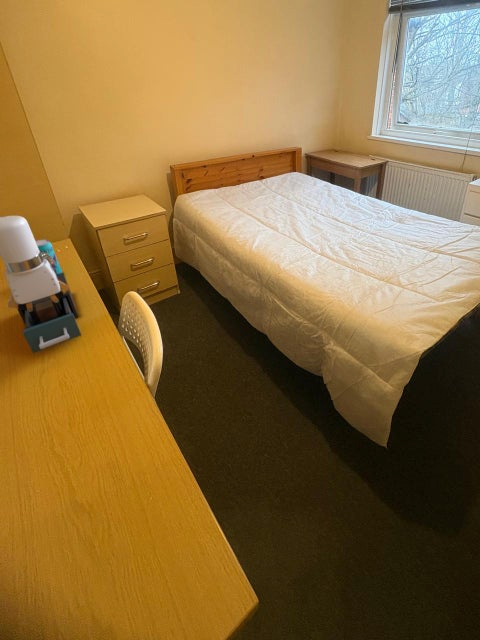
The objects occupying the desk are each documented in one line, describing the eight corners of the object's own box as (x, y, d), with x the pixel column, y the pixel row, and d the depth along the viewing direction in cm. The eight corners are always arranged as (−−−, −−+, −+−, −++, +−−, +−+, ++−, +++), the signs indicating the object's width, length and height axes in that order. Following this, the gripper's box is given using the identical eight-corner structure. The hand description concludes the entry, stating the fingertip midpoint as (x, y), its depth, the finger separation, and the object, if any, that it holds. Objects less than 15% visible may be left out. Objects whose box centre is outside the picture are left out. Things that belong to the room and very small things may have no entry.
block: (41, 322, 90) (35, 311, 89) (39, 315, 93) (34, 304, 91) (57, 316, 93) (53, 305, 91) (56, 309, 95) (51, 298, 94)
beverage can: (52, 282, 120) (37, 247, 113) (41, 279, 121) (26, 244, 114) (66, 274, 124) (53, 240, 118) (56, 271, 126) (42, 237, 119)
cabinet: (78, 317, 103) (69, 293, 99) (29, 334, 96) (17, 309, 92) (72, 295, 113) (63, 272, 109) (27, 309, 106) (16, 285, 101)
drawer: (84, 345, 91) (75, 324, 88) (34, 364, 85) (23, 343, 81) (74, 311, 104) (66, 292, 100) (30, 326, 98) (20, 306, 94)
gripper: (60, 247, 92) (80, 298, 100) (-17, 266, 82) (11, 321, 91) (64, 257, 87) (84, 310, 95) (-19, 279, 77) (12, 336, 86)
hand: (48, 315), depth 93 cm, fingers closed on block, 4 cm apart
